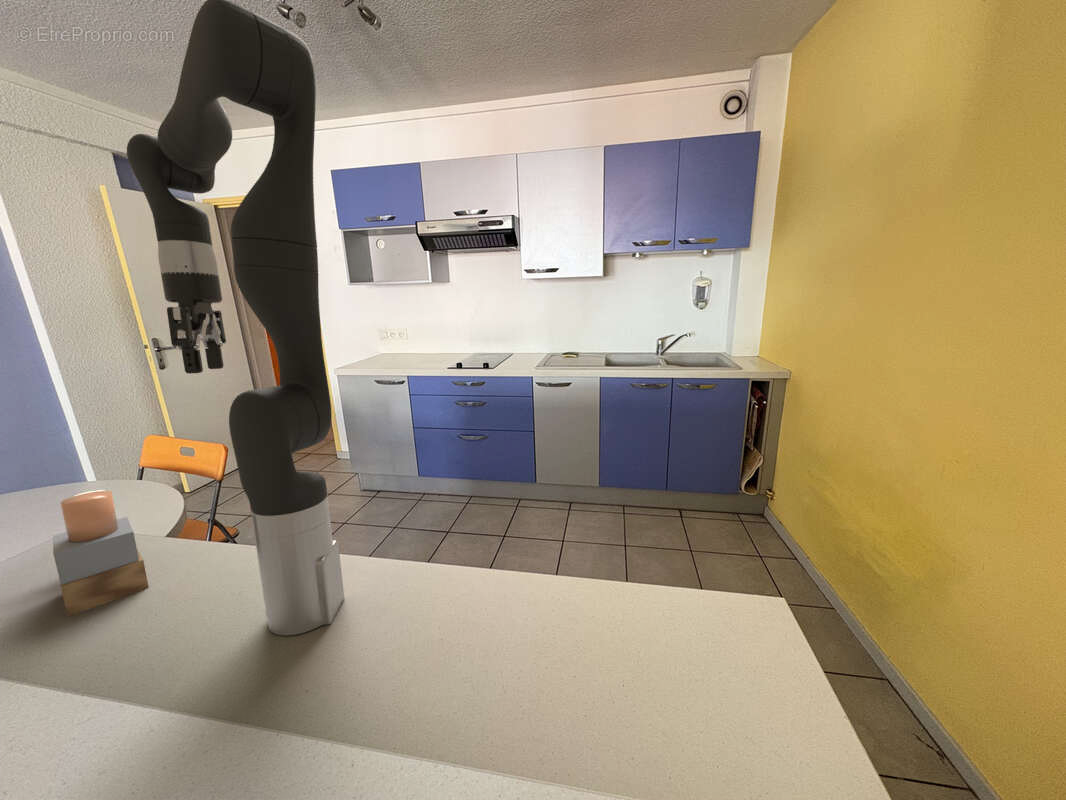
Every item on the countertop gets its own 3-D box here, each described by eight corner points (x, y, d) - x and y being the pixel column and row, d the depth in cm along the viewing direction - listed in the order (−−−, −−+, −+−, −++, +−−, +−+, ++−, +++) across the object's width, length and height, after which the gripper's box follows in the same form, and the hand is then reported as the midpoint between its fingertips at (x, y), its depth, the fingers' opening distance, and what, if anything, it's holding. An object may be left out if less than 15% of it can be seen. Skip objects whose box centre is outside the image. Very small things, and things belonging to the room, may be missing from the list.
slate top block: (132, 543, 74) (126, 516, 73) (139, 560, 68) (133, 531, 67) (59, 565, 68) (52, 535, 67) (60, 585, 62) (53, 553, 61)
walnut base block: (138, 569, 75) (133, 543, 74) (148, 588, 69) (143, 559, 69) (63, 594, 68) (57, 565, 67) (68, 617, 63) (60, 586, 62)
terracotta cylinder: (127, 524, 70) (120, 489, 69) (100, 539, 65) (92, 502, 64) (88, 527, 69) (81, 492, 68) (57, 543, 64) (49, 505, 63)
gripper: (197, 267, 65) (214, 373, 67) (232, 278, 78) (245, 366, 81) (137, 266, 63) (157, 376, 65) (184, 277, 76) (198, 368, 79)
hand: (206, 370), depth 73 cm, fingers open, 8 cm apart
